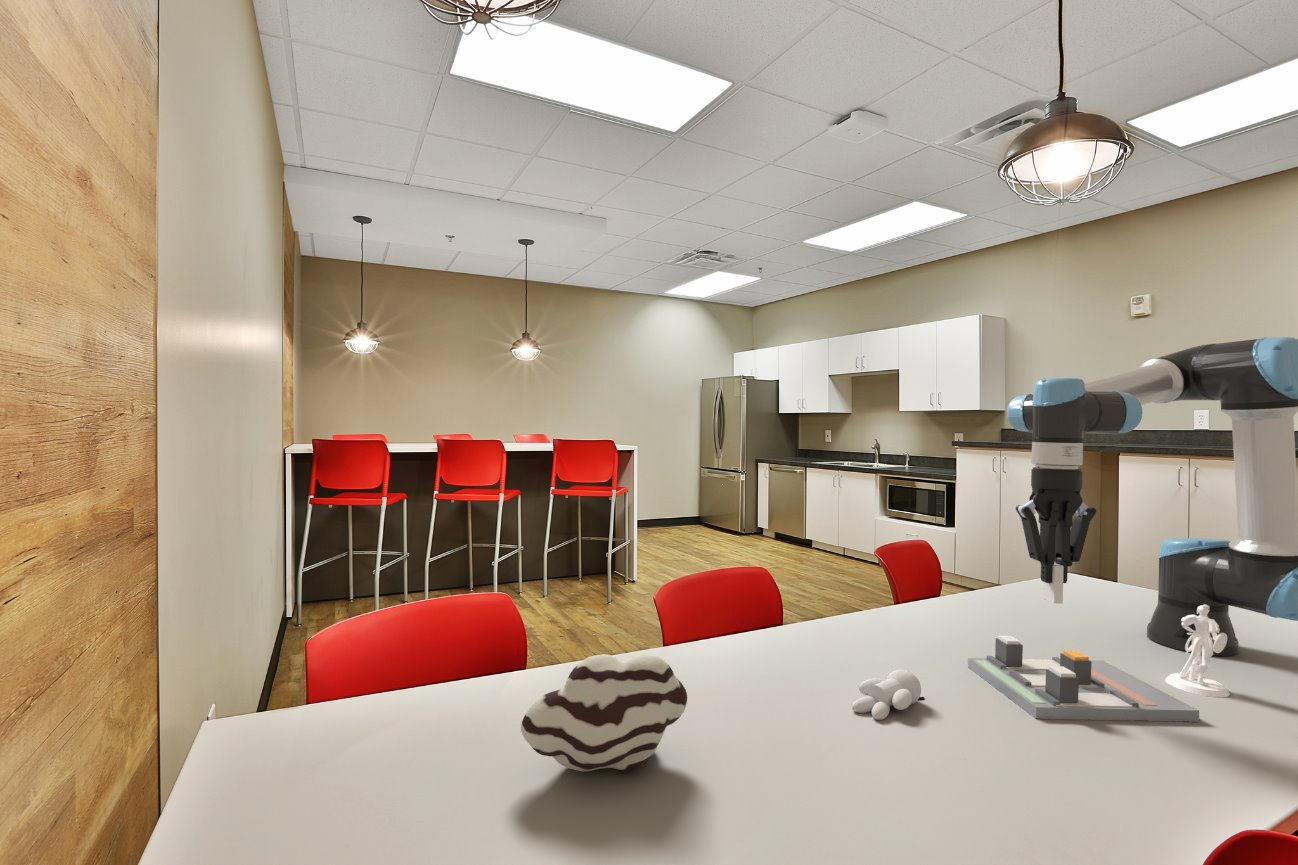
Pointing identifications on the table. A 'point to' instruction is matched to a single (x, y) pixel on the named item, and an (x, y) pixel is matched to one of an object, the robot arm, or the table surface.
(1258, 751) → the table surface
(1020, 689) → the panel
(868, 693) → the toy
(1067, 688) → the block
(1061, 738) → the table surface
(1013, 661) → the breaker left
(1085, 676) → the breaker mid
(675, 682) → the sculpture
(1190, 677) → the figurine
